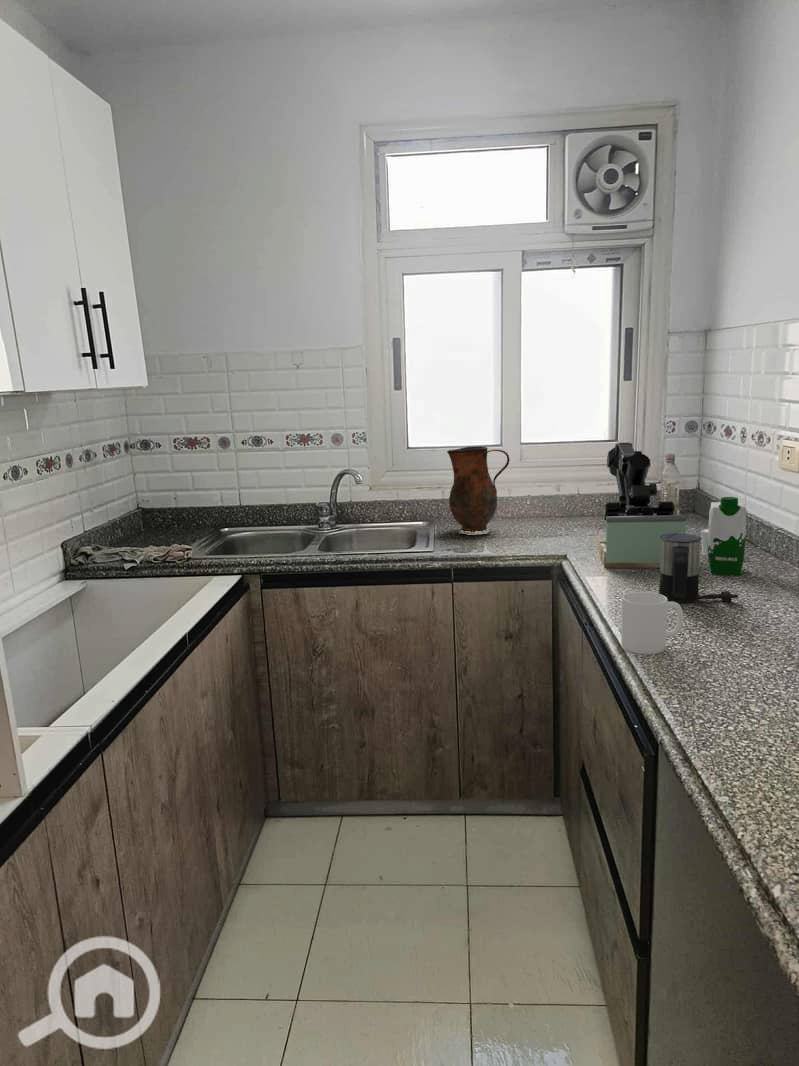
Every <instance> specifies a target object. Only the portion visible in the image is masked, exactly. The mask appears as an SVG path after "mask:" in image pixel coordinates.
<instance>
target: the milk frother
mask: <svg viewBox="0 0 799 1066" xmlns="http://www.w3.org/2000/svg"><path fill="white" fill-rule="evenodd" d="M660 538H661V558H660V568H659V569H660V570H659V585H658V591H659V592H658V594H661V595H663V596H665V597H667V599H668V601H667V602H676V603H681V604H682V603H694V602H696V601H699V600H715V599H721V601H722V603H731V602H732V599H738V598H739V595H738V594H736V593H735V594H734V593H733V594H732V593H731V591H729V590H726V591H725V590H724V591H721V592H720V593H711V594H704V595H701V596H700V595H699V593H700V592H699V591H700V590H699V588H700V587H699V585H700V583H699V581H700V580H699V579H700V578H699V577H700V557H701V553H700V552H701V539H702V538H701V535H697V534H693V533H686V534H683V533H682V534H678V533H671V534H664V535H661V536H660Z"/></svg>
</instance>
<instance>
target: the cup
mask: <svg viewBox="0 0 799 1066" xmlns="http://www.w3.org/2000/svg"><path fill="white" fill-rule="evenodd" d="M669 609H674V610H675V611H676V619H677V620H676V625H675V627H674V628H673V629H672V630H667V628H668V626H667V625H668V610H669ZM683 613H684V612H683V609H682V606H681V605H680V604H679V602H671V601H668V599H667V597H665V596H663V595H661V594H659V593H657V592H652V591H651V592H650V591H632V592H628V593H624V594H623V595H622V596H621V639H620V641H621V646H622V647H623V649H624V650H625V651H627V652H628V653H631V654H632V653H633V654H636V655H645V656H646V655H647V656H650V655H657V654H661V653H663V652H664V651H665V649H666V647H667V639H668V638H669V639H670V638H672V637H675V636H677V635H678V634H679V633H680V631H681V630H682V628H683V624H684V614H683Z"/></svg>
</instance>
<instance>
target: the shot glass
mask: <svg viewBox="0 0 799 1066" xmlns="http://www.w3.org/2000/svg"><path fill="white" fill-rule="evenodd" d="M700 537H701V538H702V539H701V540H700V542H701V555H703V556H705V555H706V556H705V557H708V528H703V529H701V530H700Z"/></svg>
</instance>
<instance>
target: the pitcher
mask: <svg viewBox="0 0 799 1066" xmlns="http://www.w3.org/2000/svg"><path fill="white" fill-rule="evenodd" d="M491 452H499V453H503V454H504V455H505V456H506V459H507V460H506V462H505V464H504V466H503V467H502V468H501V469H500V470H499V471H498V472H497V473H496V474H495V475H494V478H493V480H492V478H491V475H490V473H489V468H488V453H491ZM446 453H447V454H448V457H449V459H450V462H451V465H452V471H453V485H452V486H451V490H450V492H449V498H448V504H449V510H450V513H451V515H452V516H453V519H454V520H455V521H456V522H457V523H458V524H459V525H460V526H461V529H460V530H463V531H471V532H472V531H473V532H475V531H483V530H486V529H488V528H487V525H488V524H489V523H490V522H491V520H492V519H493V517H495V516H494V515H495V513H496V511H497V507H498V500H499V499H498V492H497V491H498V490H497V488H496V484H495V482H496V480H497V478H498V477H499V476H500V475H501V474H502V473H503V471H504V470H506V469H507V467H508V466H509V464H510V461H511V460H510V456H509V454H508V452H507V451H505V450H503V449H490V450H488V447H486V446H479V445H478V446H476V445H475V446H465V447H461V448H457V449H449V450H447V452H446Z"/></svg>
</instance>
